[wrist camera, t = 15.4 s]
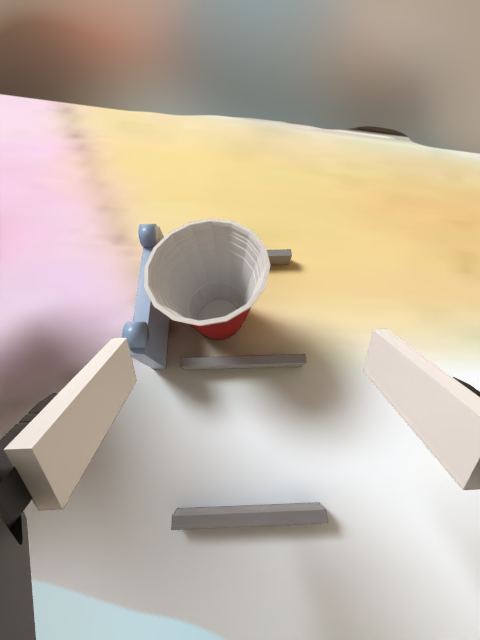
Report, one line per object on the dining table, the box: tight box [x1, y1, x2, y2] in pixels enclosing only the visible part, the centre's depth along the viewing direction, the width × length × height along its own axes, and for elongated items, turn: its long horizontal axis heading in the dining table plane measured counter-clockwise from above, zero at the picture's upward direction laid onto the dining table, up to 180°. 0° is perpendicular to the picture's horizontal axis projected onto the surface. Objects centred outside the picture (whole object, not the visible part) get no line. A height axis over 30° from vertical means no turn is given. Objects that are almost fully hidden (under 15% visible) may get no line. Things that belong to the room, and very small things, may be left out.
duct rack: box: [122, 224, 328, 530], centre depth 25 cm, size 18×30×9 cm, turn 2°
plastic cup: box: [144, 219, 271, 340], centre depth 26 cm, size 11×11×12 cm
